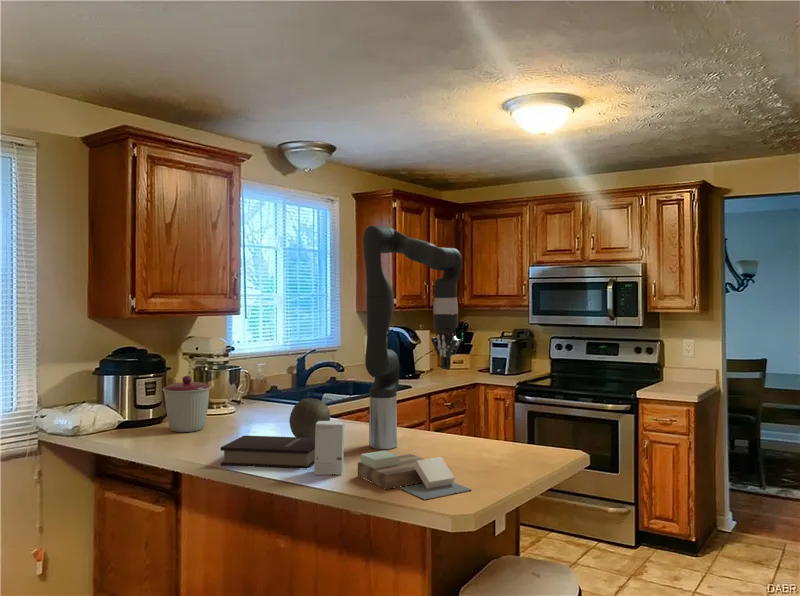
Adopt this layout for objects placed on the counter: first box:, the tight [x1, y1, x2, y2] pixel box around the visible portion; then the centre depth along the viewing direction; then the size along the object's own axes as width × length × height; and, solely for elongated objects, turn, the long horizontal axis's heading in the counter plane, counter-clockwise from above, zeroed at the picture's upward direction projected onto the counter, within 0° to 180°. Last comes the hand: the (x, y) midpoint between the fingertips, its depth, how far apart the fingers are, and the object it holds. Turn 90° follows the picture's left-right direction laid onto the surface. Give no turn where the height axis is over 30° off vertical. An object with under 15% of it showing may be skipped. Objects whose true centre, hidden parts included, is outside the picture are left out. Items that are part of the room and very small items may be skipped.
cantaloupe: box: [289, 397, 331, 438], centre depth 238 cm, size 14×14×15 cm
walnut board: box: [357, 453, 424, 490], centre depth 188 cm, size 16×18×4 cm
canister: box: [162, 375, 212, 433], centre depth 258 cm, size 18×18×21 cm
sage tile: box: [360, 449, 400, 469], centre depth 188 cm, size 8×8×2 cm
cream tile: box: [414, 456, 455, 489], centre depth 181 cm, size 8×8×2 cm
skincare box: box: [313, 420, 345, 476], centre depth 194 cm, size 8×6×15 cm
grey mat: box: [399, 481, 472, 501], centre depth 177 cm, size 12×15×1 cm
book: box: [220, 434, 315, 469], centre depth 211 cm, size 28×20×6 cm
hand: (446, 368), depth 204 cm, fingers closed
